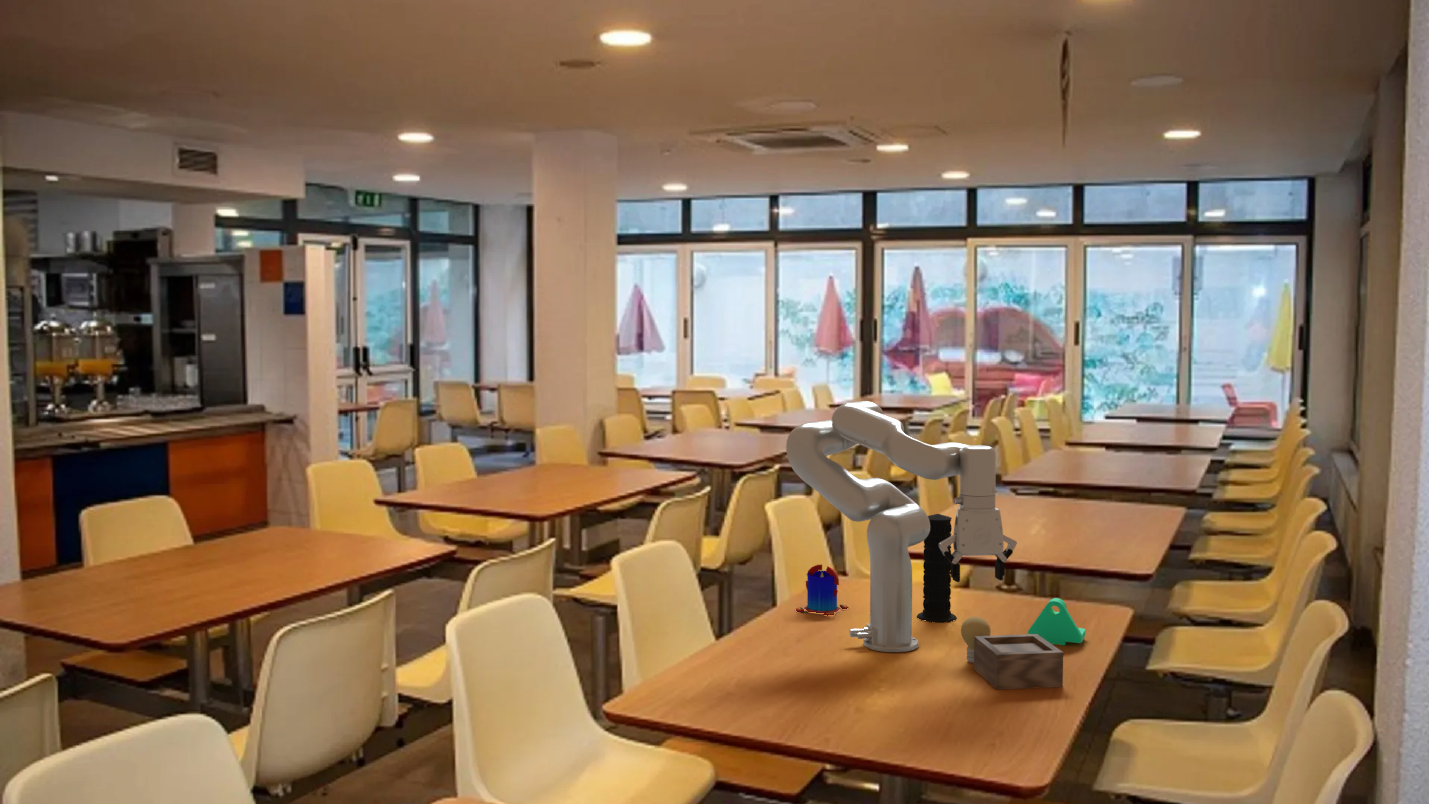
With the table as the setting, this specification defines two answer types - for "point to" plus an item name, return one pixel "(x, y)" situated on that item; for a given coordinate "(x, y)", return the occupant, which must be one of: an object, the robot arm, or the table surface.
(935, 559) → the handle grip
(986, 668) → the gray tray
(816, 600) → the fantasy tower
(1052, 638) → the camera mount
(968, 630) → the light bulb
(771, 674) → the table surface
